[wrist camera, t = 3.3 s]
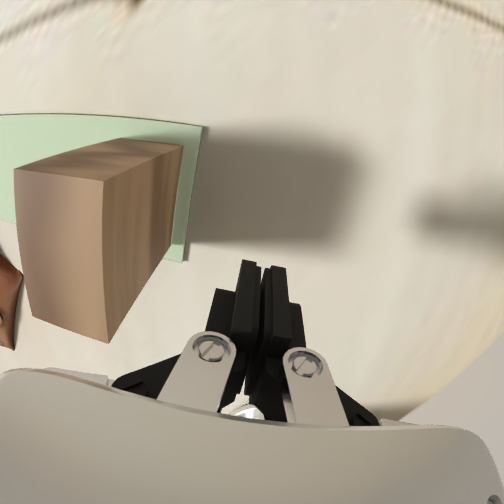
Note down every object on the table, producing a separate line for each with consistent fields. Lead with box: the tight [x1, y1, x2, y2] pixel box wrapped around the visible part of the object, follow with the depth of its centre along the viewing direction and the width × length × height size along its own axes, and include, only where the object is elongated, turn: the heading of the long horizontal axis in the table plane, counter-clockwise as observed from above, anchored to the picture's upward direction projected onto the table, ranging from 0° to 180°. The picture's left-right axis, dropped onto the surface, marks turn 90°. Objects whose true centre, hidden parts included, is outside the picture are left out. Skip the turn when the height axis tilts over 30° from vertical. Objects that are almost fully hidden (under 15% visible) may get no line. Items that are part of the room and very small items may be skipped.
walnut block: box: [14, 137, 185, 344], centre depth 17 cm, size 5×8×12 cm, turn 168°
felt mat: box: [0, 114, 203, 263], centre depth 22 cm, size 22×11×1 cm, turn 78°
